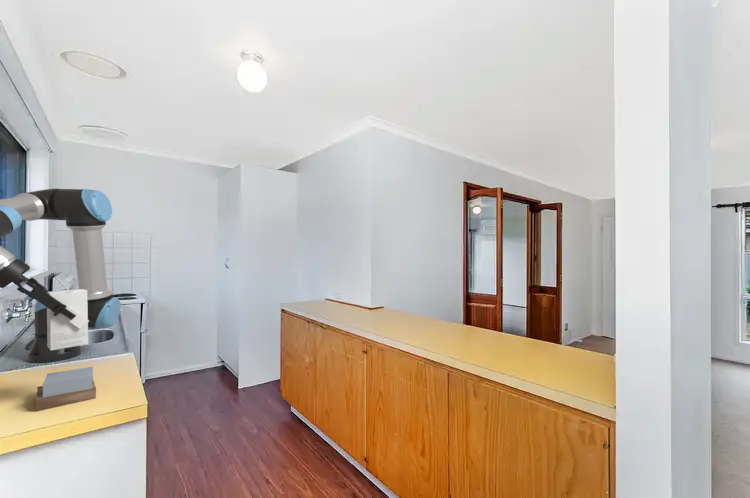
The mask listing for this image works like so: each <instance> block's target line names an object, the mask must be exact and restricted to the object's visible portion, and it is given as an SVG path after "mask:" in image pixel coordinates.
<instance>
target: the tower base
mask: <svg viewBox="0 0 750 498" xmlns="http://www.w3.org/2000/svg"><path fill="white" fill-rule="evenodd" d="M35 399H36V400H35V412H36V413H37V412H41V411H42V412H43V411H45V410H50V409H54V408H60V407H65V406H68V405H72V404H73V405H74V404H77V403H81V402H85V401H90V400H94V399H97V388H96V384H95V381H94V380H93V383H92V389H88V390H82V391H77V392H71V393H66V394H60V395H55V396H50V397H44V398H43V385H40V386H37V387H36V397H35Z"/></svg>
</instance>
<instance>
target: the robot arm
mask: <svg viewBox="0 0 750 498" xmlns="http://www.w3.org/2000/svg"><path fill="white" fill-rule="evenodd" d="M112 214H113V206H112V204H111V201H110V199H109V197H107V195H106V194H105V193H104V192H102V191H100V190H99V189H98V190H97V189H88V188H86V189H85V188H83V189H79V188H74V189H73V188H46V189H40V190H33V191H27V192H22V193H21V192H20V193H18V194H16V195H14V196H13V197H7V198H1V199H0V239H2V238H4V237H6V236H8V235H9V234H12V233H13V232H14V231H15V230H18V228H20V227H21V226H22V222H23V221H28V222H29V221H30V222H31V221H40V220H45V221H46V220H50V221H65V224H66V227H67V228H68V229H70V230H71V231H72V239H73V249H74V255H75V256H74V257H75V258H74V259H75V266H76V274H77V275H76V276H77V283H78V289H84V290H87V291H88V293H87V305H88V320H87V319H86V318H84V317H83V316H81V315H80V314H78V313H77V312H75V311H74V310H72V309H71V308H69V307H68V306H67V307H66V305H64V304H62V303H61V302H59V301H58V300H57V299H55V298H54V297H52V296H51V295H49V294H48V293H47V292H50V291H49V290H48V289H47V288H46V287H45V286H44V285H42V284H41V283H40V282H39V281H38V280H37V279H36V278H34V277H30V278H28V277H26V276H25V275H24V274H26V272H29V270H30V269H31V267H30V266H29V265H28V264H27V263H25V262H24V261H22V260H21V259H20V258H15V257H16V256H15V255H14V254H13V253H12V252H10V251H9V250H7V249H6V248H5V247H3V246H2V245H0V289H4V288H6V287H7V286H9V285H10V284H12V283H13V284H14V285H16V287H17V288H16V290H17V291H18V292H20V293H22V294H25V295H26V296H28V297H29V298H31V299H33V300H35V301H36V302H35V305H34V306H35V307H34V312H33V313H34V340H33V342H32V345H31V347H30V350H29V352H28V354H27V361H28V362H29V363H36V364H37V363H38V364H39V363H50V362H57V361H61V360H62V361H63V360H67V359H70V358H71V359H72V358H74V357H76V356H79V355H81V354H82V348H81V347H82V346H75V347H69V348H63V349H57V350H52V351H51V350H50V349H49V348H48V347H47V308H49V309H50V310H52V311H53V312H54V314H53V315H54V316H57V315H60V316H61V317H63V318H64V319H66V320H67V321H69V322H70V323H72V324H73V325H75V326H77V327H78V328H80V329H81V328H82V327H83V326H84V325H85V324H87V323H88V330H89V329H91V330H92V329H93V330H95V329H107V328H110V327H112V326H113V325H114V324H115V323H116V322H117V321H118V319H119V316H120V312H121V310H122V309H121V308H122V305H121V301H120V299H119V298H117V297H114V295H113V291H112V290H110V289H108V284H107V283H108V282H107V281H108V280H107V273H106V263H105V261H106V260H105V253H104V243H103V242H104V241H103V234H102V232H103V228H104V227H106V226H107V224H106V223H107V221H109V220H111V219H112Z"/></svg>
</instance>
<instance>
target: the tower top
mask: <svg viewBox="0 0 750 498" xmlns="http://www.w3.org/2000/svg"><path fill="white" fill-rule="evenodd" d="M93 381H94V367H93V366H91V367H90V366H88V367H82V368H77V369H68V370H62V371H56V372H50V373H47V374H46V377H45V378H44V381H43V383H42V386H43V398H44V397H50V396H55V395H60V394H66V393H71V392H77V391H82V390H88V389H92V383H93Z"/></svg>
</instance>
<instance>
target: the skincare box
mask: <svg viewBox="0 0 750 498" xmlns="http://www.w3.org/2000/svg"><path fill="white" fill-rule="evenodd" d="M47 293H48V294H49V295H51V296H52V297H54V298H55V299H57V300H58V301H59V302H61V303H62V304H64V305H66V307H67V306H68V307H69V308H71V309H72V310H74V311H75V312H77V313H78V314H80V315H81V316H83V317H84V318H86V319H87V320H88V305H87V293H88V291H87V290H84V289H79V288H78V289H67V290H66V289H65V290H54V291H53V290H51V291H49V292H47ZM53 314H54V312H53V311H52V310H50V309H49V308H47V347H48V348H49V349H50V350H51V351H52V350H57V349H63V348H69V347H75V346H80V347H82V346H85V345H88V344H89V329H88V323H87V324H85V325H84V326H83V327H82V328H81V329H80V328H78V327H77V326H75V325H73V324H72V323H70V322H69V321H67V320H66V319H64V318H63V317H61V316H60V315H57V316H54V315H53Z"/></svg>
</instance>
